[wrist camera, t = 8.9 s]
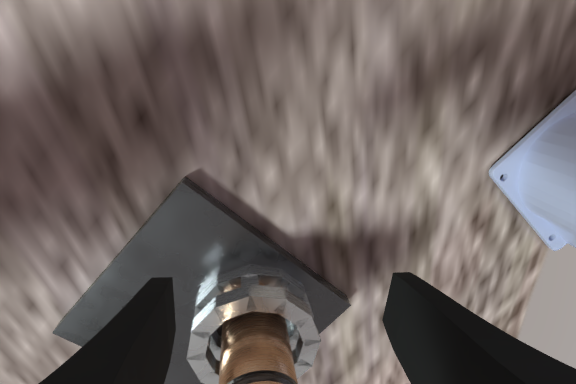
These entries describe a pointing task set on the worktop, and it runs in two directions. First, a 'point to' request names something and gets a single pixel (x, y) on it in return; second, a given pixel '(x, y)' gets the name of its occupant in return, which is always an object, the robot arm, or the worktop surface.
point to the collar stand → (208, 284)
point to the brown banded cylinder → (256, 350)
